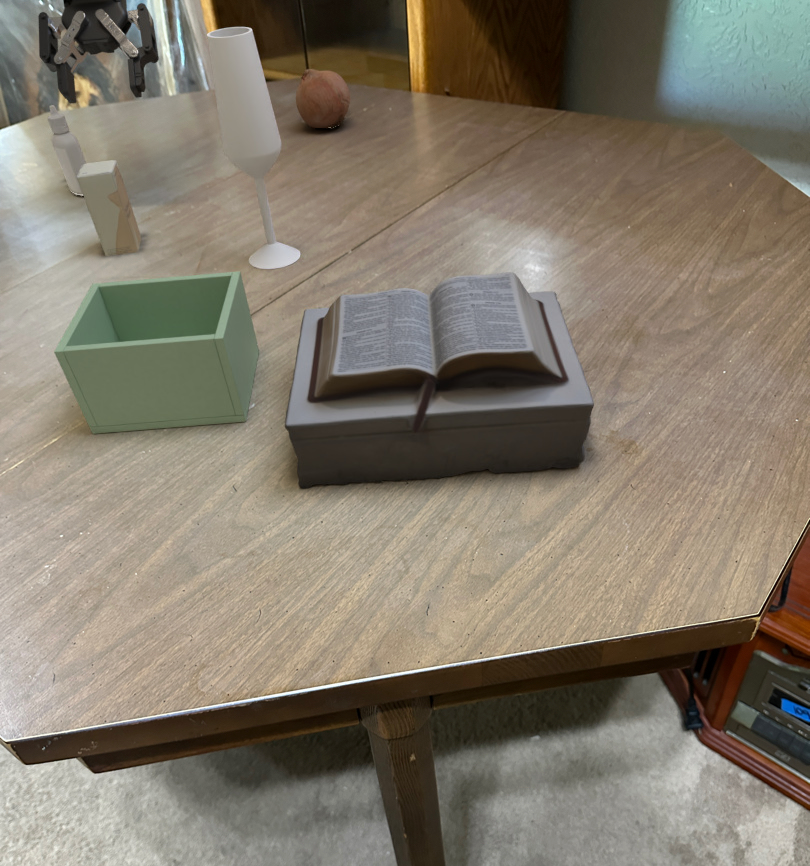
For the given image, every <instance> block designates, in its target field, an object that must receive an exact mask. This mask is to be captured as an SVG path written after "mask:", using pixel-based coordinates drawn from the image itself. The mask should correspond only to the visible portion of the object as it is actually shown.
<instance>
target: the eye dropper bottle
mask: <svg viewBox="0 0 810 866" xmlns="http://www.w3.org/2000/svg"><path fill="white" fill-rule="evenodd" d="M48 107H49V112H50V114H49V116H47V118H46V119H47V121H48V124H49V126H50V129H51V131H52V136H51V144H52V147H53V150H54V152H55V155H56V158H57V161H58V163H59V166H60V168H61V171H62V173H63V176H64V178H65V182H66V184H67V186H68V189H69V191H70V190H71V191H72V192H74V193H77V194H83V193H82V191H81V188H80V185H79V182H78V180H77V175H78V173H79V170H80V169H81V166H82V165H83V164H85V163H87V161H86V159H85V156H84V153H83V150H82V147H81V145H80V142H79V140H78V138H77V136H76V135H75V134H74V133H72V132H71V131H70V127H69V125H68V122H67V119H66V116H65V115H64V114H63V113H60V112H59V111H58V110H57V108H56V106H55V105H54V104H52V105H49V106H48ZM71 191H70V192H71Z"/></svg>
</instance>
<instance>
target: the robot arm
mask: <svg viewBox="0 0 810 866" xmlns="http://www.w3.org/2000/svg"><path fill="white" fill-rule="evenodd" d="M133 24H134V25H135V27H136V28H137V30H138V31H139V32H140V41H141V46H140V47H136V46H135V44H133V43H132V42H131V41H130V39H129V38H128V37H127V34H128V33H129V31H130V30H131V27H132V25H133ZM64 30H66V31H65V32H64V34H63V36H62V32H63V31H64ZM59 40H60V41H61V42H60V43H61V45H60V47H59ZM75 44H78V46H76V45H75ZM117 49H119V50H120V51H121V53H123V54H124V56H125V57H126V59H127V69H128V70H127V71H128V80H129V88H130V91H131V93H132V94H133V96H134V98H135V99H136V98H137V99H138V98H142V97H143V93H145V91H146V89H147V87H146V76H145V75H146V74H145V68H146V65H147V64H150V63H151V64H157V63H158V62H159V60H160V58H159V51H158V43H157V35H156V28H155V23H154V18H153V16H152V15H151V13H150V11H149V9H148V6H147V5H146V4H145V3H143V2H141V3H138V4H137V6H136V9H131V10H128V4H127V0H63V12H62V14H61V16H52V17H51V16H49V15H48V13H47V12H46V11H41V12H39V14H38V54H39V55H38V56H39V58H40V60H41V61H42V63H44V65H45V66H46V67H47V68H48V70H49V71H50V72H52V73H56V79H57V89H58V92H59V93H60V95H62V97H63V98H64V99H66V101H67V102H68V103H69V104H76V103H77V95H76V84H75V75H74V74H73V72H74V71H75V69H76V68H77V67H78V64H83V62H84V60H85V59H86V57H87V56H88V55H90V56H92V55H98V54H101V53H105V54H106V53H107V54H114V53H115V51H116V50H117Z"/></svg>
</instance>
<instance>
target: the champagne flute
mask: <svg viewBox="0 0 810 866" xmlns="http://www.w3.org/2000/svg"><path fill="white" fill-rule="evenodd" d="M206 39H207V46H208V53H209V59H210V67H211V75H212V82H213V89H214V95H215V96H214V97H215V102H216V108H217V109H216V111H217V116H218V123H219V130H220V131H219V132H220V138H221V144H222V151H223V153H224V156H225V157H226V158H227V160H228V161H229V162H230V163H231V164H232V165H233V166H234V167H235V168H236V169H238V170H239V171H240V172H242V173H243V174H245V175H246V176H248V177H250V178H253V180H254V181H253V182H254V186H255V191H256V196H257V201H258V205H259V211H260V215H261V219H262V225H263V230H264V235H265V240H266V243H265V244H263V245H262V246H261V247H259V248H258V249H257V250H256V251H254V253H252V254H251V255H250V256H249V258H248V263H249V265H250V266H252V267H254V268H257V269H260V270H274V269H281V268H285V267H287V266H291V265H292V264H294V263H296V262H297V261H298V260H299V259H300V257H301V251H300V250H299V249H297V248H296V247H294V246H291V245H287V244H285V243H282V242H279V241H277V239H276V238H277V237H276V232H275V228H274V223H273V217H272V212H271V208H270V202H269V197H268V192H267V188H266V187H267V186H266V183H265V182H266V181H265V177H266V176H267V175H268V174H269V173H270V171H271V170H272V168H273V167H274V165H275V164H276V163H277V161H278V158H279V155H280V154H281V150H282V139H281V135H280V131H279V127H278V124H277V119H276V116H275V113H274V107H273V105H272V101H271V97H270V92H269V89H268V85H267V81H266V77H265V73H264V70H263V66H262V62H261V58H260V54H259V50H258V46H257V43H256V39H255V35H254V32H253V29H252V28H251V27H248V26H247V27H246V26H231V27H224V28H218V29H215V30H212V31H210V32H208V33H207V34H206Z"/></svg>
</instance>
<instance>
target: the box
mask: <svg viewBox="0 0 810 866" xmlns="http://www.w3.org/2000/svg"><path fill="white" fill-rule="evenodd" d="M77 180H78V182H79V185H80V188H81V191H82V193H83V196H84V197H83V199H84V201H85V204H86V207H87V210H88V212H89V215H90V218H91V220H92V224H93V227H94V229H95V232H96V234H97V238H98V239H99V243H100V245H101V247H102V250H103V253H104V255H105V257H110V256H119V255H125V254H132V253H137V252H139V249H140V245H141V242H142V235H141V231H140V228H139V225H138V223H137V219H136V216H135V212H134V210H133V207H132V204H131V201H130V198H129V195H128V191H127V188H126V186H125V182H124V180H123V177H122V173H121V170H120V168H119V164H118V161H117V160H116V159H111V160H109V159H108V160H103V161H94V162H86V163H85V164H83V165H82V166H81V169H80V170H79V173H78V175H77Z"/></svg>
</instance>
